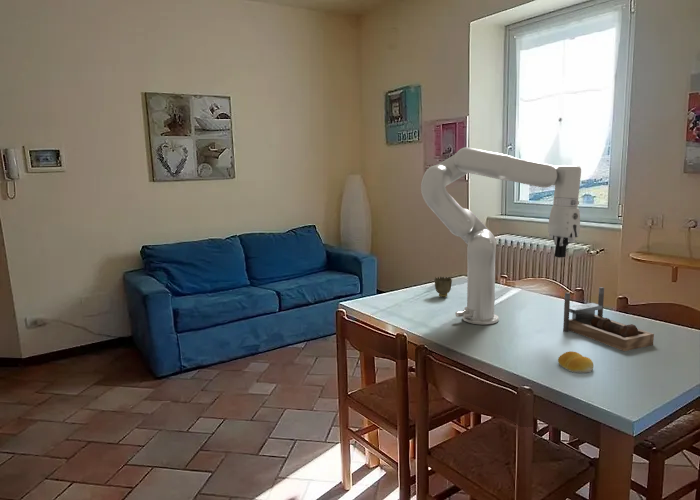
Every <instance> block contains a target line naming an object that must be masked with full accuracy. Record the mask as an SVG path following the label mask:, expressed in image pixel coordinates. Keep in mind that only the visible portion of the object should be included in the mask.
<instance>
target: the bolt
mask: <svg viewBox="0 0 700 500" xmlns="http://www.w3.org/2000/svg"><path fill="white" fill-rule="evenodd" d="M611 320H612V319H610V318H609V317H603V318H601V319H599V318H593V319H592V320H591V325H592V326H593V327H596V328H598V329H601V330H604V331H607V332H611V333H614V334H617V335H619V336H622V337H624V338H626V337H630V336H635V335H638V329H639V328H638V327H637V326H636V325H635V324H631V323H630V324H625V325H624V326H622V325H619V324H616V323H612V322H611Z"/></svg>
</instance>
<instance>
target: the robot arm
mask: <svg viewBox="0 0 700 500" xmlns="http://www.w3.org/2000/svg"><path fill="white" fill-rule="evenodd" d="M467 174H471V175H477V176H481V177H486V178H492V179H496V180H500V181H508V182H513V183H519V184H523V185H529V186H533V187H538V188H542V189H543V188H544V189H545V188H550V187H552V186H554V193H553V200H552V201H553V202H552V206H551V209H550V213H549V216H548V217H549V219H548V225H547V232H548V237H549V238H551V239H552V240H553V243H554V245H555V247H554V257H555V258H560V259H561V258H565V257H566V256H567V255H566V253H567V246H569V244H570V243H576V238H578V237H579V236H580V230H581V229H580V228H581V227H580V226H581V212H580V211H581V210H580V208H579V207H578V205H579V204H580V201H579V195H580V186H581V177H582V168H581V166H578V165H568V164H567V165H566V164H561V165H553V164H549V163H543V162H542V163H541V162H537V161H531V160H526V159H521V158H517V157H514V156H512V155H508V154H504V153H499V152H494V151H488V150H485V149H484V150H483V149H478V148H475V147H474V148H473V147H468V146H467V147H465V146H464V147H462V148H460V149H459V150H458V151H456V152H455V154H453V155H452V156H449V158H446V159H445V160H443V161H442V162H440V163H438V164H435V165H431V166H429V168H427V169H426V171H424V174H423V176H422V179H421V184H420V192H421V195H422V196H421V197H422V198H423V200H424V203H425V204H426V206H427V207H429V209H430V210H431V211H432V212H433V213H434V215H435V216H436V217H437V218H438V219H439V220H440V222H442V223H443V225H444V226H445V227H446V229H448V230H449V232H450V233H451V234H452V235H454V236H455V237H460V238H461V240H463V241H464V243H465V244H467V248H466V257H467V259H466V261H467V266H466V267H467V271H466V272H467V274H466V276H467V283H466V284H467V287H466V289H467V290H466V292H467V293H466V295H467V298H466V301H467V303H466V304H467V305H466V306H465V307H464V309H463V310H461V311H460V310H459V311H456V312H455V317H456V318H460V317H462V320H463V321H464V322H466V323H469V324H473V325H480V326H481V325H483V326H485V325H487V326H488V325H493V324H496V323H497V322H499V315H497V314H495V303H496V302H495V299H496V296H495V295H496V290H495V288H496V287H495V286H496V253H497V252H496V251H497V240H496V236H495V235H494V234H493V232H492V231H491V230H490V229H489V227H487V226H486V225H485V224H484V223H483V221H481V220H480V218H479V217H478V216H477V215H476V214H475V213H473V211H472V210H470V209H468V208H464V207H462V205H460V204H459V203H458V201H456V199H455V197H453V196H452V195H451V194H450V193H449V192H448V189H447V188H446V187H447V186H449V185H450V184H452V183H454V182H455V181H457V180H459V179H460V178H462V177H464V176H466V175H467Z"/></svg>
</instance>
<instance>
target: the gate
mask: <svg viewBox="0 0 700 500" xmlns="http://www.w3.org/2000/svg"><path fill="white" fill-rule="evenodd" d="M599 309H602V305H599V304H598V303H596V302H588V303H584V304H578V305H577V304H576V305H573V306H572V305H570V308H569V313H571V315H572V316H571V319H573V320H576V321H578V322H581V323H584V324H591V320H592V319H593V318H595V315H596V311H598V310H599Z"/></svg>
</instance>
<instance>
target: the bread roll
mask: <svg viewBox="0 0 700 500" xmlns="http://www.w3.org/2000/svg"><path fill="white" fill-rule="evenodd" d="M557 362H558V364H559V366H560V367H561V368H563V369H565V370H567V371H569V372H571V373H576V374H587V373H590V372H592V371H593V369H594V362H593V360H592V359H591V358H589V357H587V356H583V355H582V354H581V353H579V352H576V351H573V350H572V351H570V350H569V351H565V352H563V353H562V354H561V355H559V357H558V360H557Z"/></svg>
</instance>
